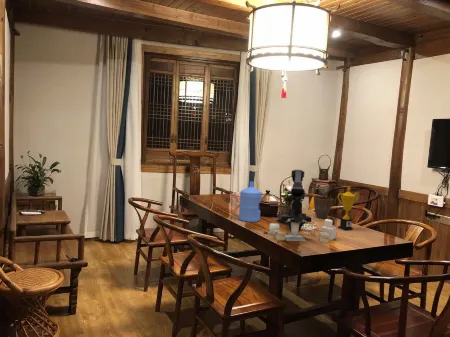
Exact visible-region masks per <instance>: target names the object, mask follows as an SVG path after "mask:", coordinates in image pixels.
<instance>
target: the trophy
mask: <svg viewBox="0 0 450 337" xmlns="http://www.w3.org/2000/svg"><path fill="white" fill-rule="evenodd" d="M340 195H341V196H340ZM359 195H360V194H359V193H358V192H355V193H354V194H353V193H352V192H351V186H347V191H346V192H345V193H344V192H343V193H338V195H337V200H338V202H339V203H341V205H342V207H343V210H344V211H345V215H344V216H342V217H340V222H339V223H340V224H339V225H338V227H337V228H338V229H340V230H343V231H353V229H354V227H353V226H352V223H353V219H352V218H350V216H349V211H351V210H352V208H353V205H354V204H355V203H356V202H357V200H358V199H359ZM339 197H340V198H339ZM341 200H342V201H341Z"/></svg>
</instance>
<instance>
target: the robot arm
mask: <svg viewBox="0 0 450 337" xmlns="http://www.w3.org/2000/svg"><path fill="white" fill-rule="evenodd" d="M290 176H291V179H292V180H291V181H292V182H293V184H292V187H291V189H290V199H291V206H290V207H289V210H288V214H287V215H286V214H280V215H279V217H278V219H279V220H280V221H281V222H284V223H286V225H287V228H288V231H289V233H290V232H291V223H292V222H294V223H299V232H298V233H300V232H301V229H302V227H303V226H304V224H306V223H312V217H311V216H309V215H307V214H306V213H305V212H304V213H302V207H303V203H302V200H304V199H305V197H306V191H305V189H304V185H303V184H302V182H303V180H304V178H305V171H304V170H302V169H294V170H291V175H290Z"/></svg>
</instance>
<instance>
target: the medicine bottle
mask: <svg viewBox="0 0 450 337" xmlns="http://www.w3.org/2000/svg"><path fill="white" fill-rule="evenodd" d="M335 223H336V222H335V220H334V219H333V218H326V219H324V225H323V226H321V231H320V232H323V233H328V234H329V241H332V240H335V239H337V228H338V227H336V226H335Z"/></svg>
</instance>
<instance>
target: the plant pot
mask: <svg viewBox="0 0 450 337" xmlns="http://www.w3.org/2000/svg"><path fill="white" fill-rule="evenodd" d="M333 202H334V198H333V197H329V196H320V195H319V196H318V195H315V196H313V207H314V212H315V216H316V218H317V219H318V220H319V219H321V220H325V219H328V216H329V214H330V211H331V209H332V206H333Z"/></svg>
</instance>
